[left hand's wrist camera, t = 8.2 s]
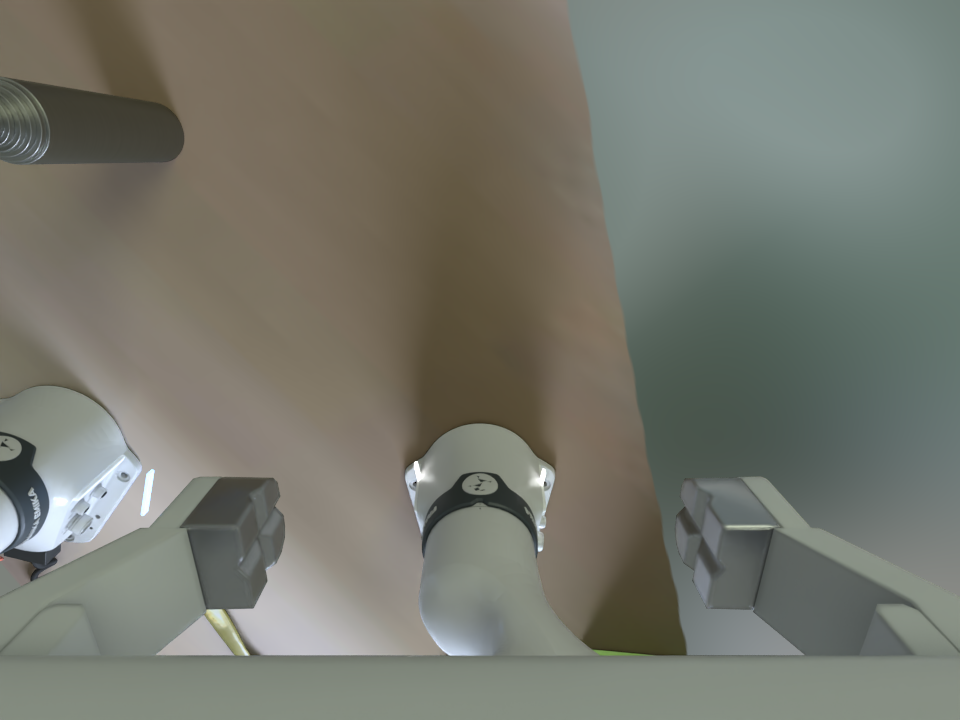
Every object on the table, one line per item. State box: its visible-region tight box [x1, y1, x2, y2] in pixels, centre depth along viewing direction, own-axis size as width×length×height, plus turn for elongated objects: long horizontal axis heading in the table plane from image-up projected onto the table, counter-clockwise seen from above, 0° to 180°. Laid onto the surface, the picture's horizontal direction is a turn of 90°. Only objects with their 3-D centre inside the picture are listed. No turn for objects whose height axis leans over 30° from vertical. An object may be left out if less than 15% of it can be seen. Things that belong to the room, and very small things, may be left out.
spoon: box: [204, 609, 250, 656], centre depth 79 cm, size 35×11×2 cm, turn 22°
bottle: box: [0, 77, 184, 165], centre depth 42 cm, size 6×6×22 cm
